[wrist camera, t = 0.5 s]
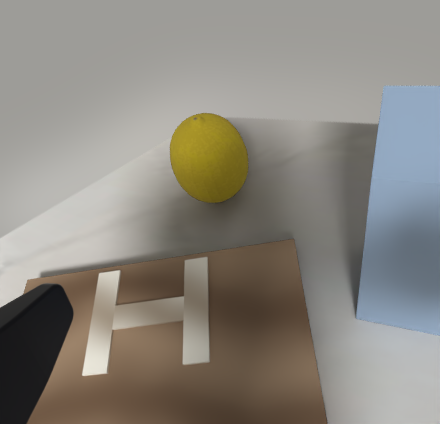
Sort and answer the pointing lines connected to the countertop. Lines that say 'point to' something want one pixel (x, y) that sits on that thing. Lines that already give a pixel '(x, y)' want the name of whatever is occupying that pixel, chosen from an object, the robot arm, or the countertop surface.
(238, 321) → the board
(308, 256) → the countertop surface
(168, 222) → the countertop surface
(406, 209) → the light blue block
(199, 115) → the lemon
